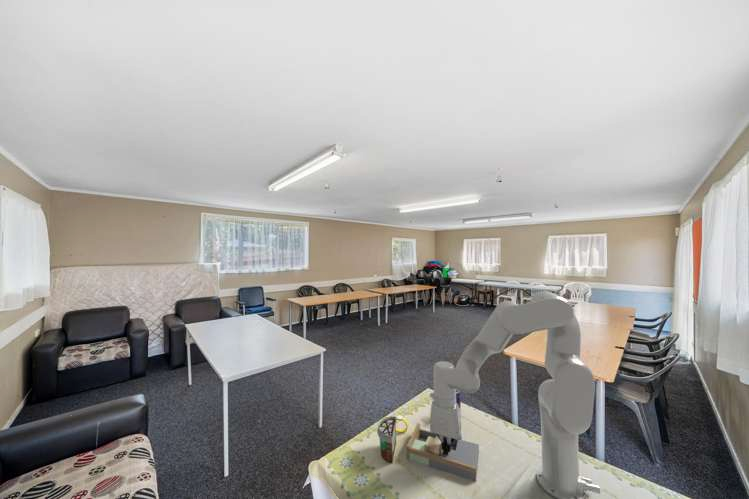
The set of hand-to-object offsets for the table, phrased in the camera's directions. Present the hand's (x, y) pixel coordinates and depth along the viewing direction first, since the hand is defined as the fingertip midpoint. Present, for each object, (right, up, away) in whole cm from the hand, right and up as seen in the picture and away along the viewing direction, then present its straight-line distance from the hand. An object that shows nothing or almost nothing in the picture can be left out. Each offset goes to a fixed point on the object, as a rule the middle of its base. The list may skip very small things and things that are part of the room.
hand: (446, 452), depth 92 cm
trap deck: (0, -4, +3) cm, 5 cm away
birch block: (-4, -1, +2) cm, 4 cm away
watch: (-14, -4, +16) cm, 22 cm away
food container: (-21, -4, +5) cm, 22 cm away
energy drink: (+10, -4, +25) cm, 27 cm away
